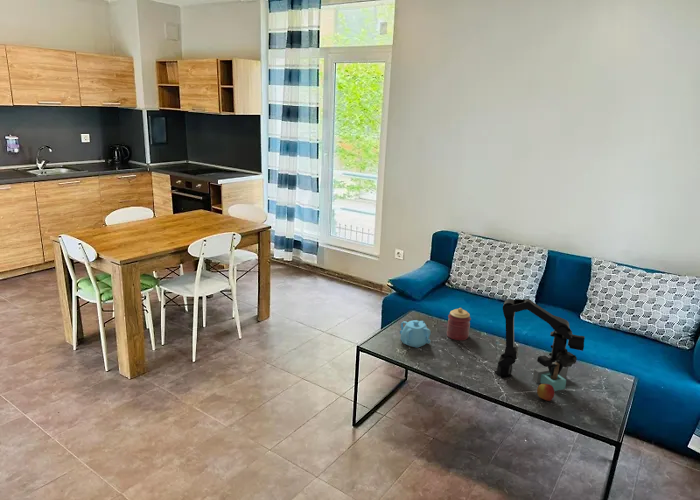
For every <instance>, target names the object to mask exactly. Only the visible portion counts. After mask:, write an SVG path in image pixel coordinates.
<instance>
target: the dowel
mask: <svg viewBox="0 0 700 500" xmlns="http://www.w3.org/2000/svg"><path fill="white" fill-rule="evenodd" d="M555 364H556V365H557V366H556V367H555V368H554V373H553V376H551V379H552V380H557V377H558V371H559V366H560V364H559V363H557V362H555Z"/></svg>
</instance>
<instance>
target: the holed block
mask: <svg viewBox="0 0 700 500" xmlns="http://www.w3.org/2000/svg"><path fill="white" fill-rule="evenodd" d="M539 384H550V385H552V387H553V388H554V392H555V391H562V390H565V389H566V385H567V379H566V378H563V377H561V376H560V375H559V374H558V377H557V380H552V379H551V375H550V373H545V374H541V380H540V383H539Z"/></svg>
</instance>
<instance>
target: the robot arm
mask: <svg viewBox="0 0 700 500" xmlns="http://www.w3.org/2000/svg"><path fill="white" fill-rule="evenodd" d="M502 311H503V316H504V319H505V320H504V321H505V348H504V353H501V354H500V356H499V359H498V361H497V367H496V370H494V373H495V374H496V375H497V376H498V377H500V378H501V379H505V378H511V377H514V375H513V374H512V371H513V364H515V362H516V360H518V357H519V346H516V345H515V315H516V313H519V312H521V311H529V312H530V313H532V314H534V316H536V317H537V318H539V319H541V320H543V321H544V322H546V323H547V324H548V325H549V326H550V327H551V328H552V329H553V331H551V332H550V337H553V342H552V345H551V344H550V349H551V352H549V357H548V356H547V355H539V356H537V360H536V361H537V362H538V363H539V364H540V365H542V366H543V367H544V368H545V367H548V369H549V372H550V375H551V376H553V373H554V368H555V367H556V366H557V365H556V364H555V362H557V363H559V364H560V366H559V371H558V374H559V373H560V371H561V370H562V368H563V367H565V368H566V367H568V368H569V367H570V368H571V367H572V366H573V365H574V364H576V363H577V359H578V358H577V356H576V355H575V354H574V353H572V352H570V351H568V349H567V346H568V347H569V349H572V350H577V351H580V352H583V351H584V349H585V348H584V347H585V336H584V335H577V334H573V332H572V329H571V328H570V322H569V321H568V320H567V319H564V318H562V317H561V316H556V315H554V314H552V313H551V312H549V311H547V310H546V309H545V308H543V307H541V306H540V305H538V304H536V303H535V302H534V301H532V300H531V299H529V298H526V299H522V298H521V299H520V298H517V299H516V298H515V299H512V298H507V299H506V300H504V302H503V305H502Z"/></svg>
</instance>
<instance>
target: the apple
mask: <svg viewBox="0 0 700 500" xmlns="http://www.w3.org/2000/svg"><path fill="white" fill-rule="evenodd" d="M536 393H537V396H538V398H539V399H542V400H544V401H546V402H550V401H552V400H553V399H554V397H555V391H554V388H553V387H552V385H550V384H541V383H539V385H538V386H537V389H536Z"/></svg>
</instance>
